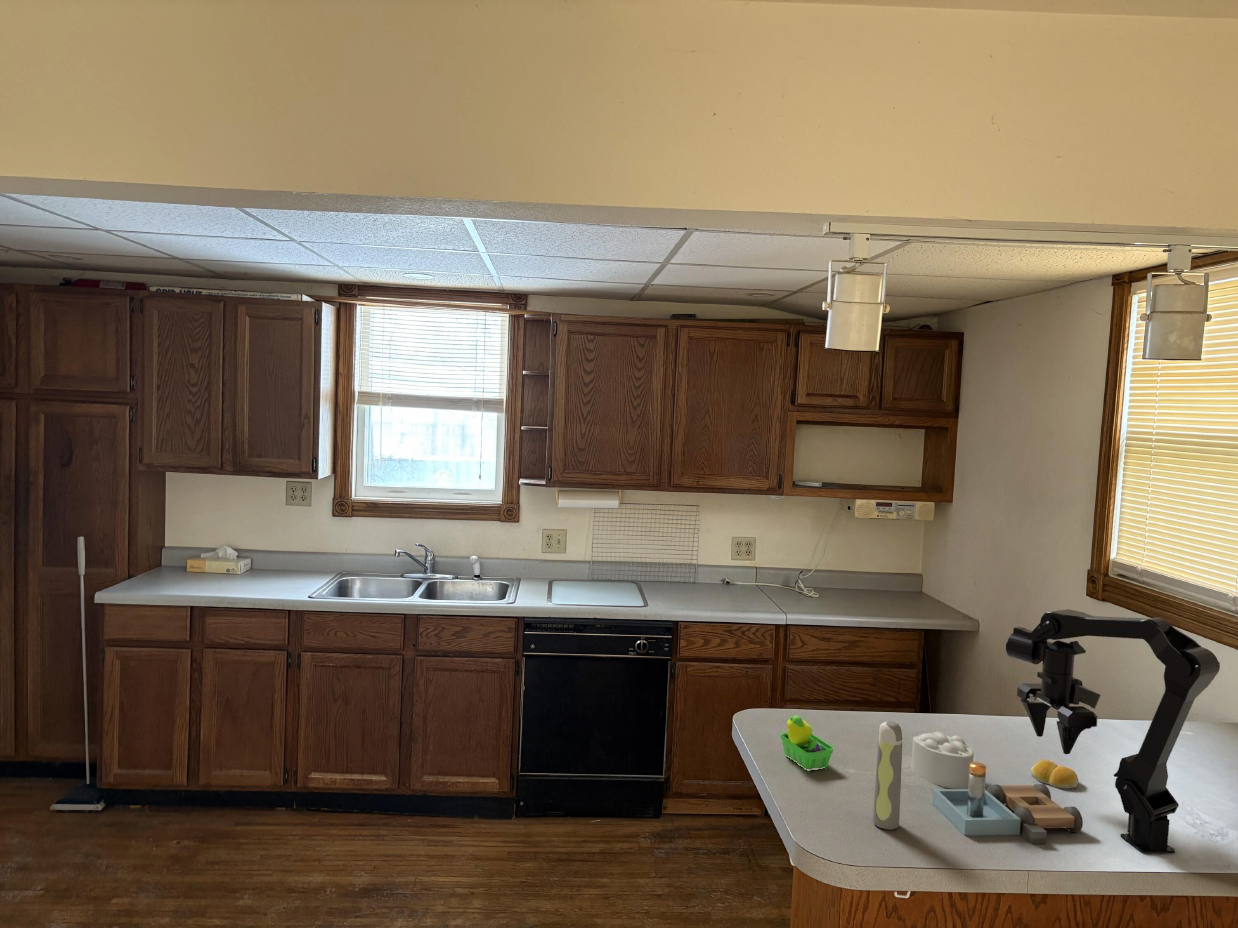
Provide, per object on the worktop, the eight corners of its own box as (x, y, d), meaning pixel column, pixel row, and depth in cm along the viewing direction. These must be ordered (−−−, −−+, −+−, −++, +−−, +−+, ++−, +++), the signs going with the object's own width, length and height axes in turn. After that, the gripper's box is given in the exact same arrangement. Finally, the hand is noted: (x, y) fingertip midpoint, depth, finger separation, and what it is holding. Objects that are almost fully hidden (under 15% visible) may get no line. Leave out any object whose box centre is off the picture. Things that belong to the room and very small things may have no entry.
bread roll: (1069, 793, 180) (1070, 775, 180) (1026, 778, 187) (1027, 761, 187) (1084, 783, 186) (1085, 765, 186) (1042, 769, 193) (1043, 752, 192)
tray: (1019, 834, 161) (1020, 819, 161) (964, 835, 160) (965, 819, 160) (983, 803, 174) (984, 788, 174) (932, 803, 173) (933, 789, 173)
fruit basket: (835, 770, 187) (837, 720, 187) (801, 775, 184) (803, 725, 184) (805, 751, 198) (807, 703, 197) (772, 755, 195) (775, 707, 194)
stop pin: (986, 818, 165) (989, 768, 165) (971, 818, 165) (974, 768, 164) (978, 810, 168) (981, 761, 168) (963, 811, 168) (966, 761, 167)
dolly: (1091, 843, 158) (1093, 820, 158) (1031, 844, 157) (1033, 821, 157) (1037, 800, 176) (1039, 780, 175) (983, 801, 174) (984, 780, 174)
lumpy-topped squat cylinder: (940, 762, 194) (942, 725, 194) (984, 786, 182) (987, 746, 182) (904, 768, 190) (906, 730, 190) (947, 792, 178) (949, 752, 178)
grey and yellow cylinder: (878, 816, 166) (883, 716, 165) (902, 824, 163) (908, 722, 162) (868, 824, 163) (873, 723, 161) (893, 833, 160) (898, 729, 158)
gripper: (1125, 685, 166) (1120, 763, 166) (1066, 657, 184) (1061, 727, 185) (1071, 685, 164) (1066, 763, 165) (1017, 657, 183) (1013, 728, 184)
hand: (1052, 744), depth 175 cm, fingers open, 9 cm apart
